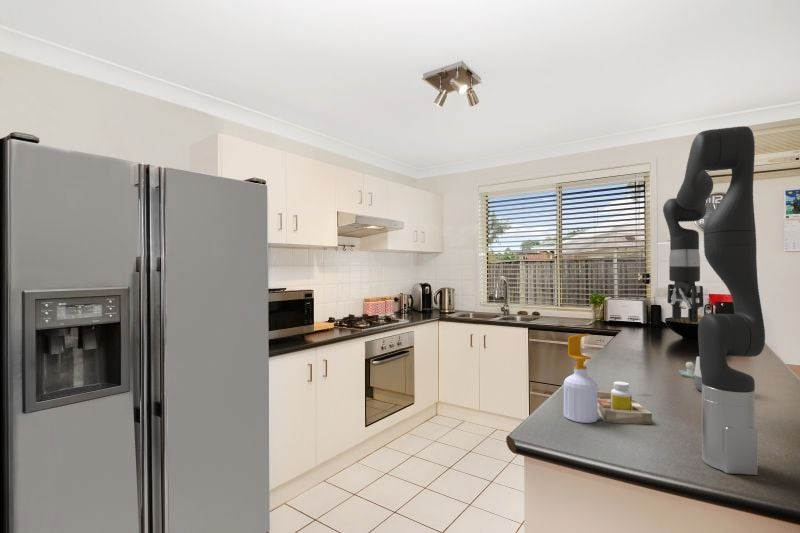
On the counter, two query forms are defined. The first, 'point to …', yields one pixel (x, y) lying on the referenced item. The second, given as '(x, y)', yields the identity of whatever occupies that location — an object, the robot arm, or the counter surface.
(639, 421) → the socket block
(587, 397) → the soap bottle
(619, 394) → the supplement bottle
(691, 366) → the pacifier
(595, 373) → the counter surface
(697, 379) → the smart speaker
